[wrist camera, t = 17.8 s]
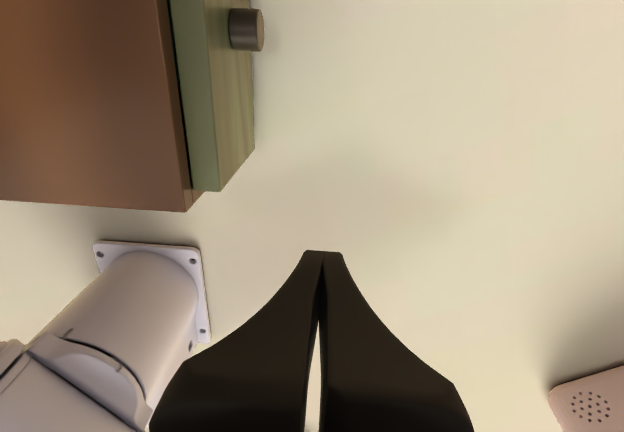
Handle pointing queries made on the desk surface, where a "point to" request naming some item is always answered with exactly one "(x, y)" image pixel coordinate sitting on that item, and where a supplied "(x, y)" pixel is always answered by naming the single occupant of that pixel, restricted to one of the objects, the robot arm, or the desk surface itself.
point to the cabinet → (91, 106)
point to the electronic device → (590, 403)
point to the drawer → (216, 84)
